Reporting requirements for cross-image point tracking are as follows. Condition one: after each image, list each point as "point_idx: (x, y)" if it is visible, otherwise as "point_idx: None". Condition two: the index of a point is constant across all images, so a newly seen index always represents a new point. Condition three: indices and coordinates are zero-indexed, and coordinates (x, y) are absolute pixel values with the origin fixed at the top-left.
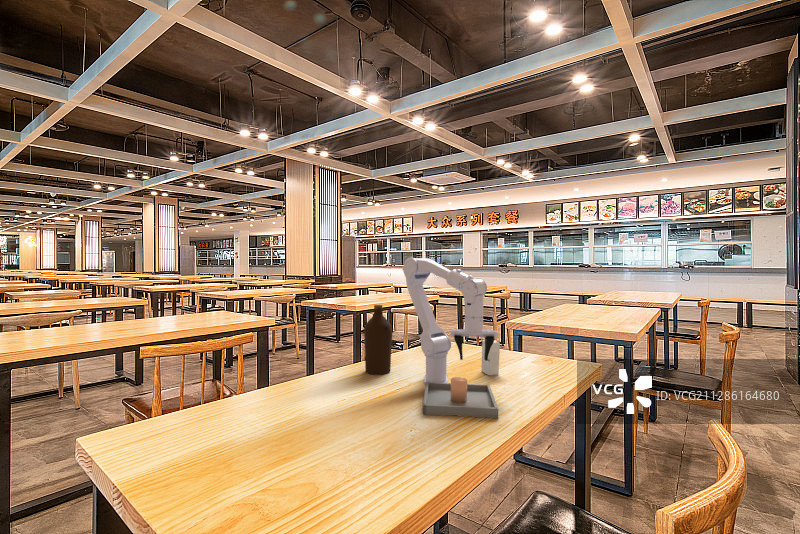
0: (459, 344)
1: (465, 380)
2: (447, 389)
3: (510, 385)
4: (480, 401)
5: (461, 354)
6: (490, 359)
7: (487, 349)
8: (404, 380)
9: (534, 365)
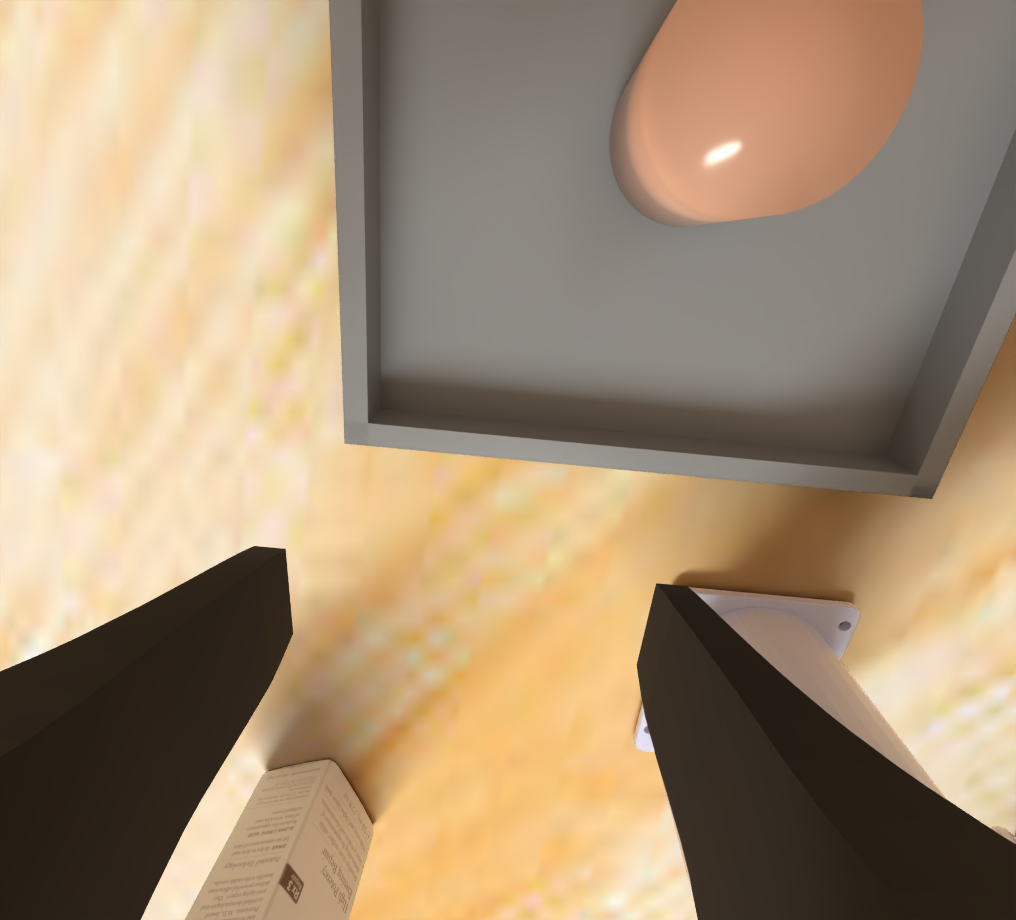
0: (936, 837)
1: (692, 35)
2: (722, 434)
3: (190, 578)
4: (480, 103)
5: (713, 635)
6: (270, 885)
7: (90, 664)
8: (982, 669)
9: None
